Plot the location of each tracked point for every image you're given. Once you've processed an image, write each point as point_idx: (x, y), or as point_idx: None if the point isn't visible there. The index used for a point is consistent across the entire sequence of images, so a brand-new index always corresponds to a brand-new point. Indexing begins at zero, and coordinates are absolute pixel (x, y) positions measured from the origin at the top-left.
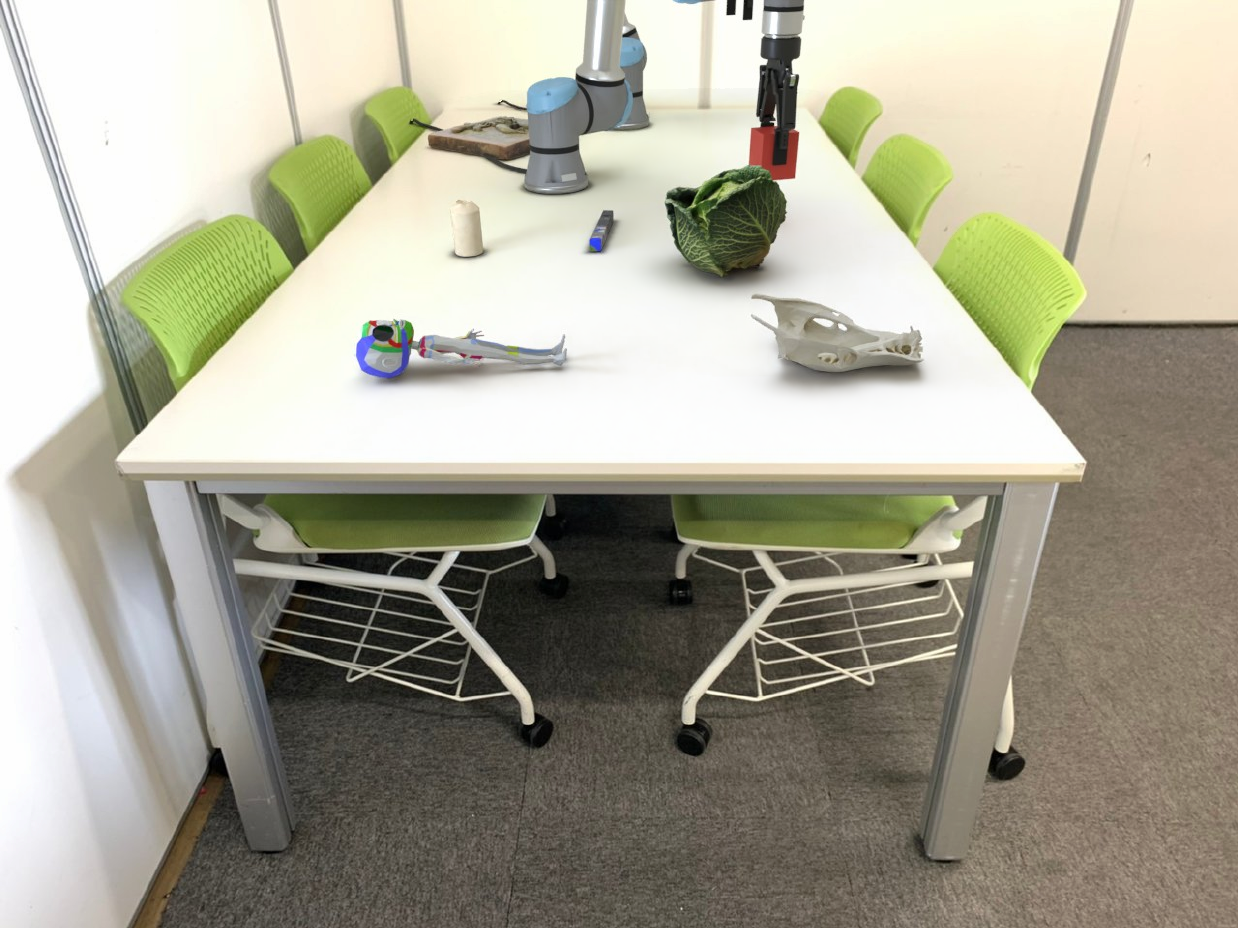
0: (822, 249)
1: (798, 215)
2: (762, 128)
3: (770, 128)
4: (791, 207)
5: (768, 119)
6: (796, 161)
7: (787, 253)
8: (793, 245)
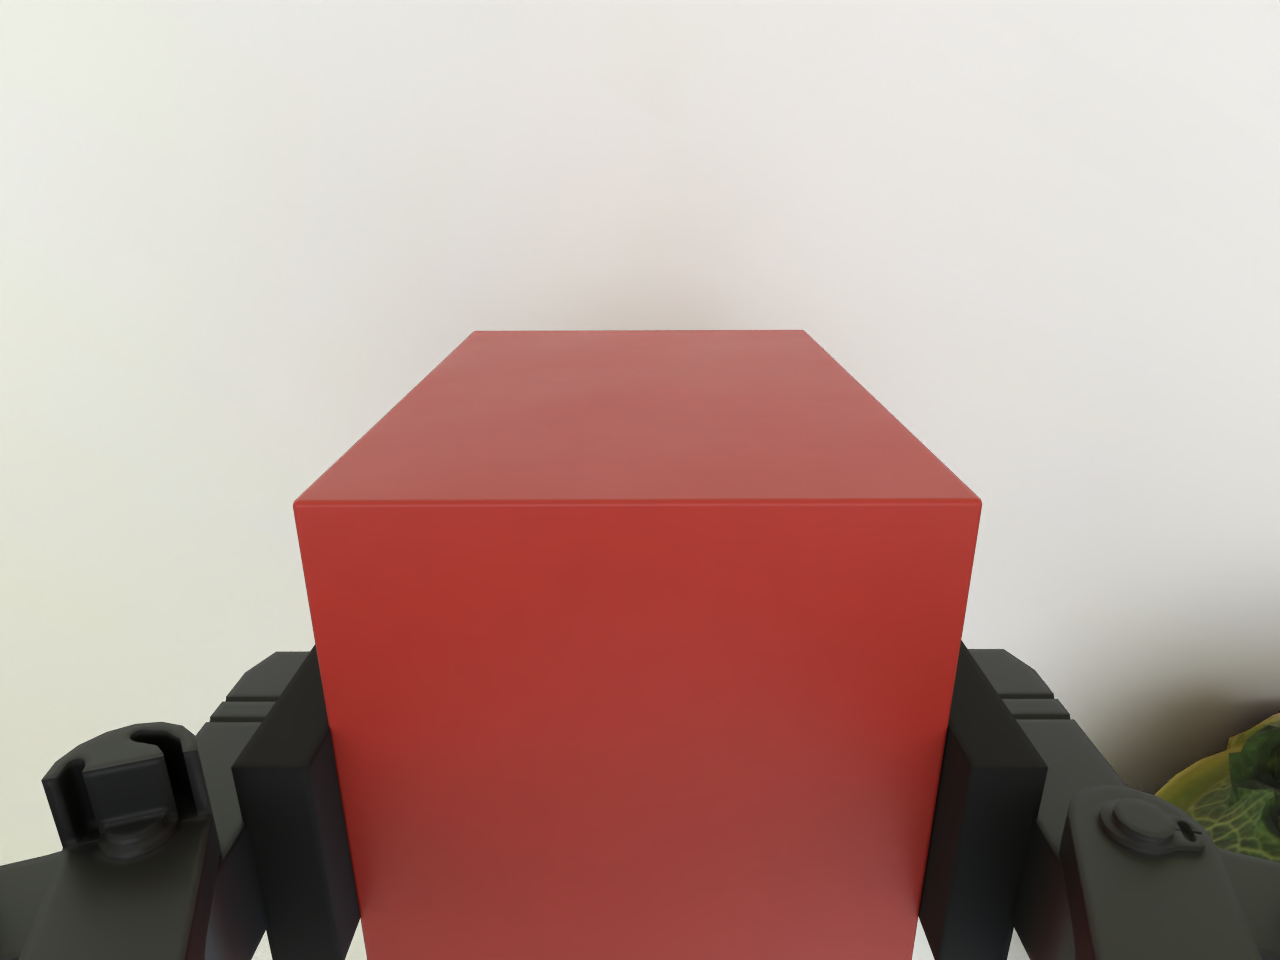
0: (1243, 280)
1: (538, 113)
2: (469, 944)
3: (505, 844)
4: (332, 76)
5: (221, 900)
6: (843, 371)
7: (1190, 501)
8: (1091, 416)
